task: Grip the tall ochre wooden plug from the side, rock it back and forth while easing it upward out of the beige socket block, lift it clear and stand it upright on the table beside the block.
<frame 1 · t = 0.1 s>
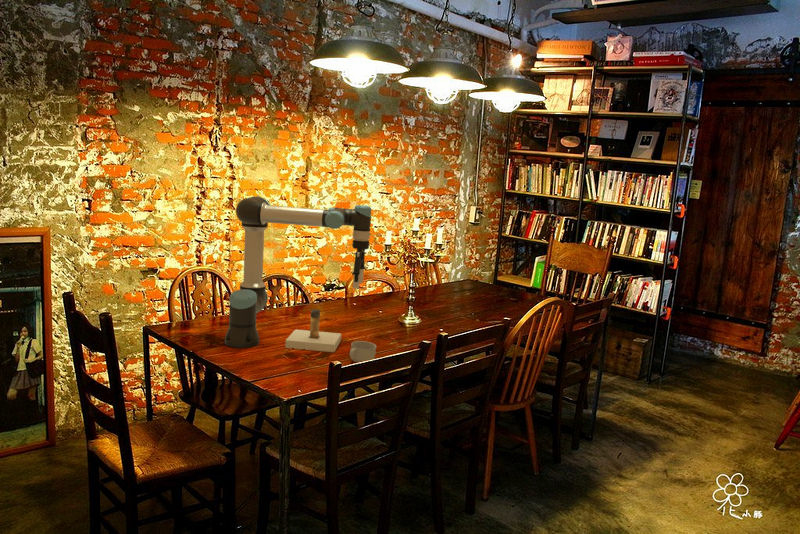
hand: (357, 285, 286), 28 cm above the table, tool pointing down, fingers open, 13 cm apart
beige socket block: (313, 344, 287), on the table
teacup: (359, 363, 266), on the table
plug: (314, 327, 286), in the beige socket block
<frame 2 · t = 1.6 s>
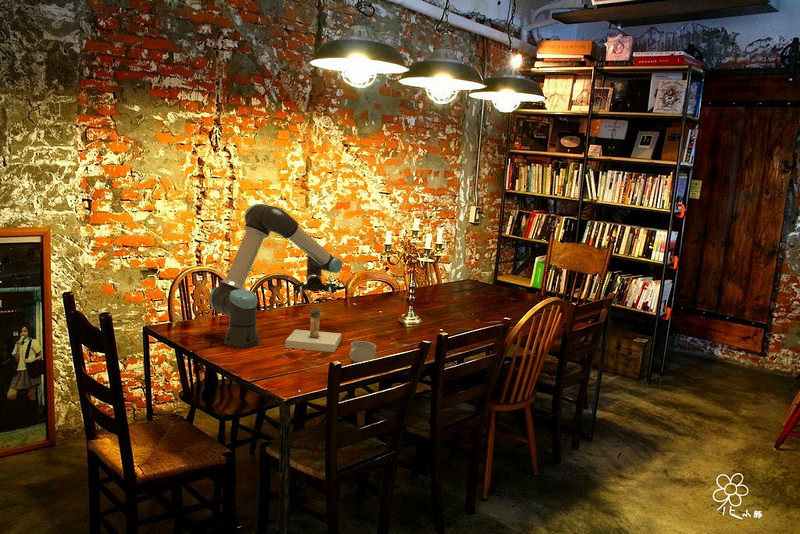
hand: (315, 292, 292), 22 cm above the table, tool horizontal, fingers open, 13 cm apart
nothing on the table moved.
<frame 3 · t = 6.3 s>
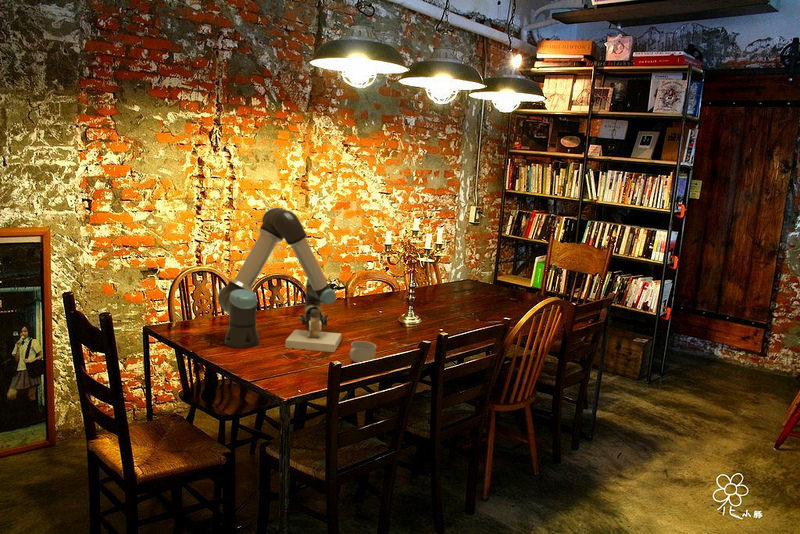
hand: (315, 327, 280), 10 cm above the table, tool horizontal, fingers closed on plug, 4 cm apart
plug: (314, 327, 286), in the beige socket block, touching gripper
everything else where it was.
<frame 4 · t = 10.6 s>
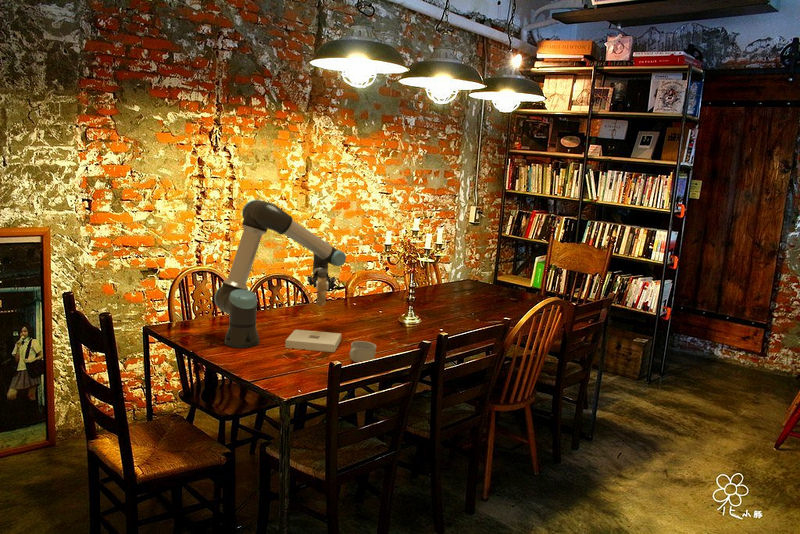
hand: (322, 286, 283), 27 cm above the table, tool horizontal, fingers closed on plug, 4 cm apart
plug: (321, 287, 288), point 25 cm above the table, touching gripper
everything else where it was.
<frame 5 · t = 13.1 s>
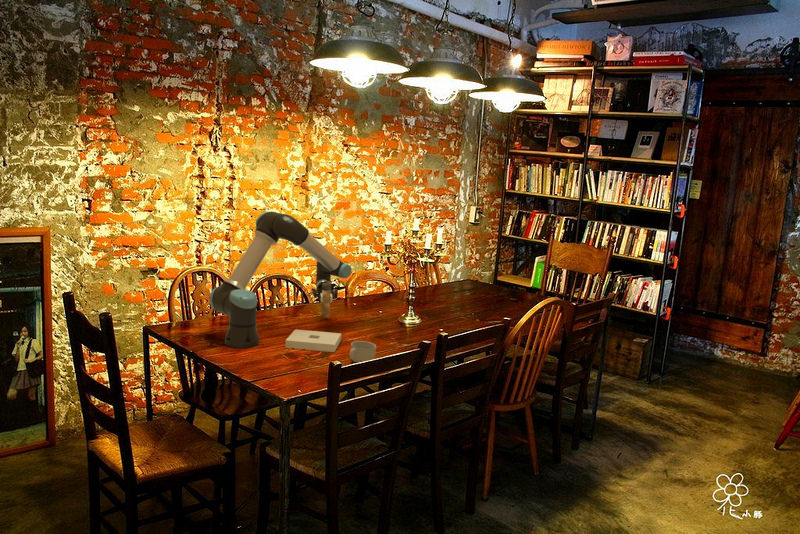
hand: (326, 299, 296), 19 cm above the table, tool horizontal, fingers closed on plug, 4 cm apart
plug: (325, 299, 301), point 17 cm above the table, touching gripper
everything else where it was.
when the fingers open (11 cm above the table, at t = 15.1 s): plug drops 1 cm, on the table.
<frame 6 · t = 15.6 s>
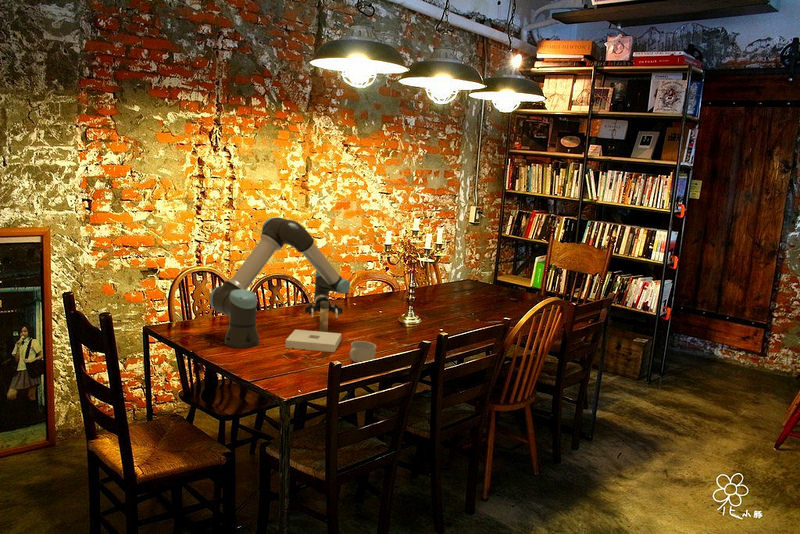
hand: (324, 314, 298), 11 cm above the table, tool horizontal, fingers open, 11 cm apart
plug: (323, 317, 303), on the table
everything else where it was.
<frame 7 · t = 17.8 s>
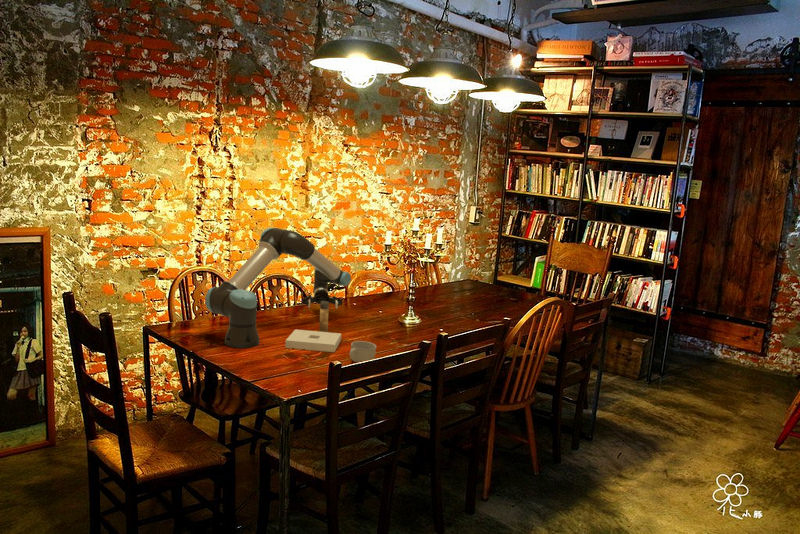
hand: (323, 305, 311), 12 cm above the table, tool horizontal, fingers open, 13 cm apart
nothing on the table moved.
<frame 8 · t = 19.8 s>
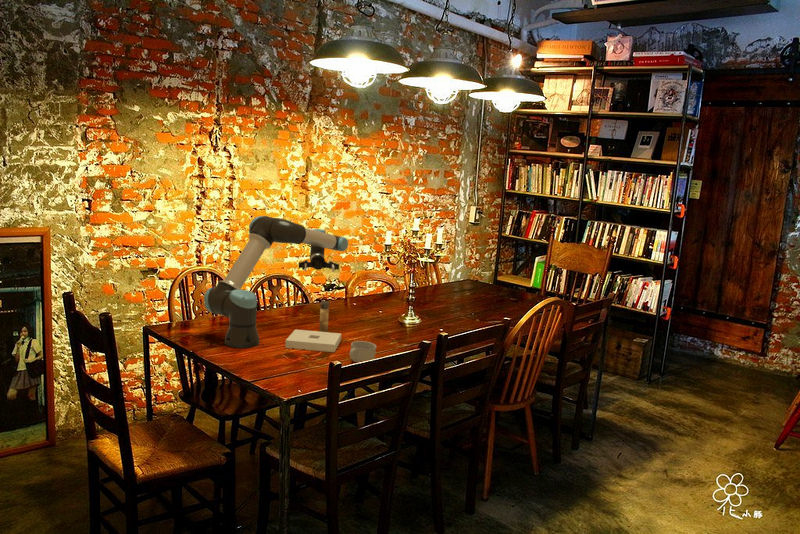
hand: (319, 269, 308), 30 cm above the table, tool horizontal, fingers open, 13 cm apart
nothing on the table moved.
at the end: plug inside the target area (0.2 cm from its centre), on the table; plug tilted 0°; the gripper is holding nothing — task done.
